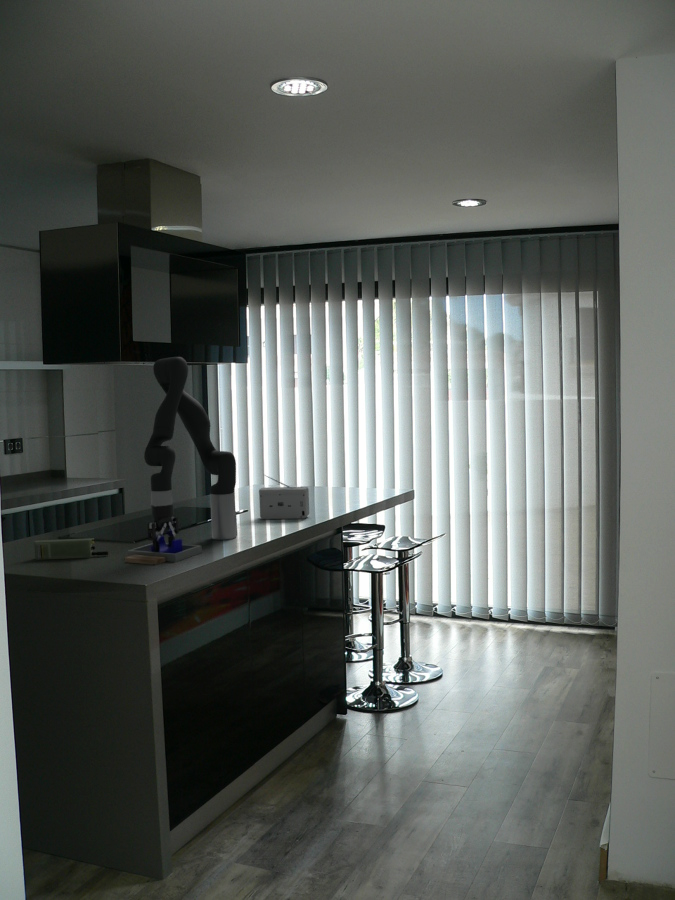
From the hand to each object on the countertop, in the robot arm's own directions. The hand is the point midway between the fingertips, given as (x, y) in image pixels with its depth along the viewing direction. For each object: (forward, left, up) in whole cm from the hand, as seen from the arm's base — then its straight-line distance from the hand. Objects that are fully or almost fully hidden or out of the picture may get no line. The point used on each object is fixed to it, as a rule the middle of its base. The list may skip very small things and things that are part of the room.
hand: (164, 549), depth 297 cm
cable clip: (-1, 0, -2) cm, 3 cm away
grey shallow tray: (0, 0, -2) cm, 2 cm away
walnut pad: (+11, 0, -2) cm, 11 cm away
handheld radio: (+13, -30, -3) cm, 33 cm away
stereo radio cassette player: (-79, +3, -2) cm, 79 cm away
